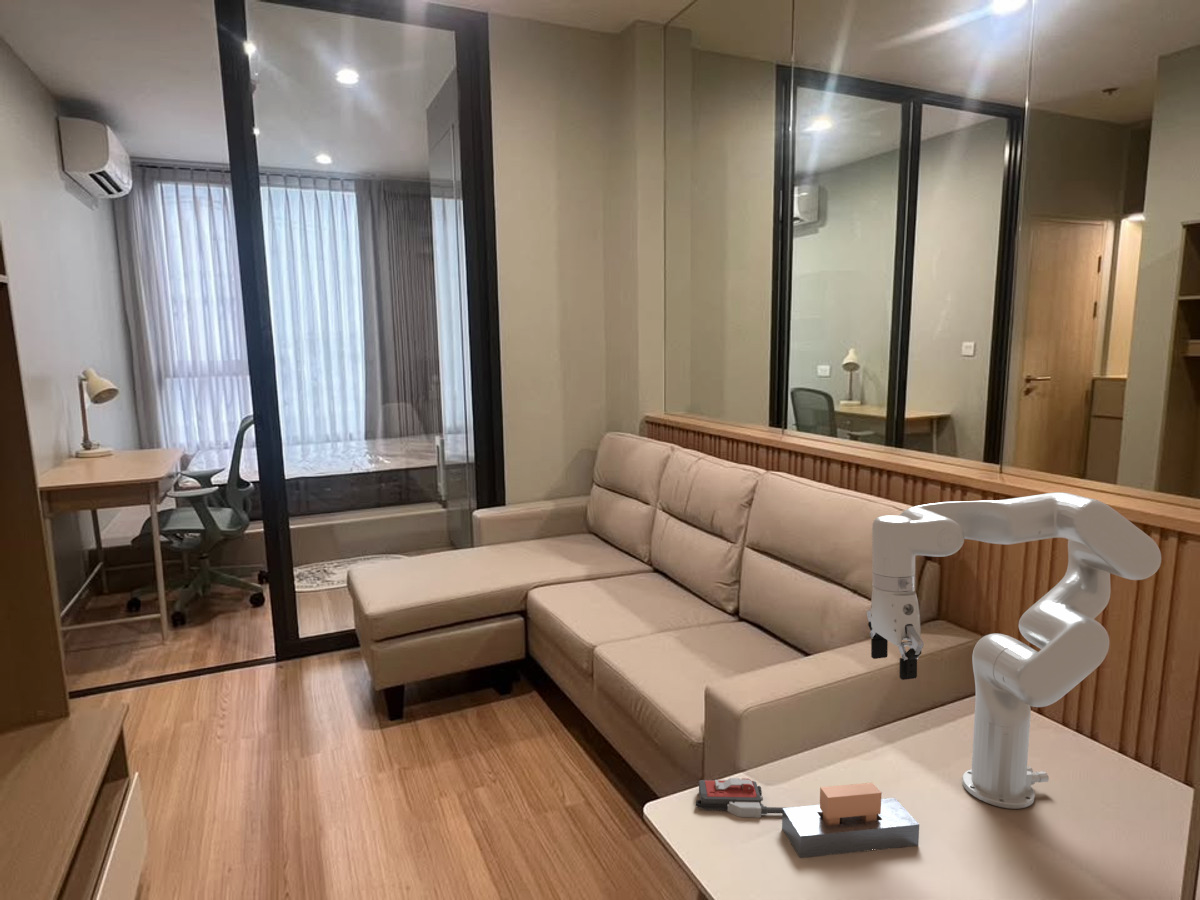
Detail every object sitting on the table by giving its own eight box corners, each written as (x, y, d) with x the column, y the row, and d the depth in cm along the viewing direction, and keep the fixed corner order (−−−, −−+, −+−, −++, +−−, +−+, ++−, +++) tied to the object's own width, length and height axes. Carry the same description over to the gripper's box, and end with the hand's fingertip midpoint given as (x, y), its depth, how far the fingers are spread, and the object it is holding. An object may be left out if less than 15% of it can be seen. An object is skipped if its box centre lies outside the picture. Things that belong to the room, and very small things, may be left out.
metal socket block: (893, 817, 134) (894, 797, 134) (918, 845, 126) (919, 824, 126) (782, 828, 131) (782, 808, 131) (799, 857, 124) (800, 836, 123)
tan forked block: (870, 828, 131) (872, 782, 130) (879, 839, 128) (881, 792, 127) (818, 833, 130) (820, 787, 129) (826, 845, 127) (828, 797, 126)
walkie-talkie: (696, 819, 135) (803, 821, 134) (696, 797, 135) (804, 798, 134) (692, 791, 144) (793, 793, 143) (692, 771, 143) (793, 772, 142)
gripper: (940, 593, 127) (939, 684, 129) (886, 567, 144) (886, 648, 146) (901, 597, 126) (901, 689, 128) (851, 570, 143) (852, 652, 145)
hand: (893, 667), depth 137 cm, fingers open, 9 cm apart
